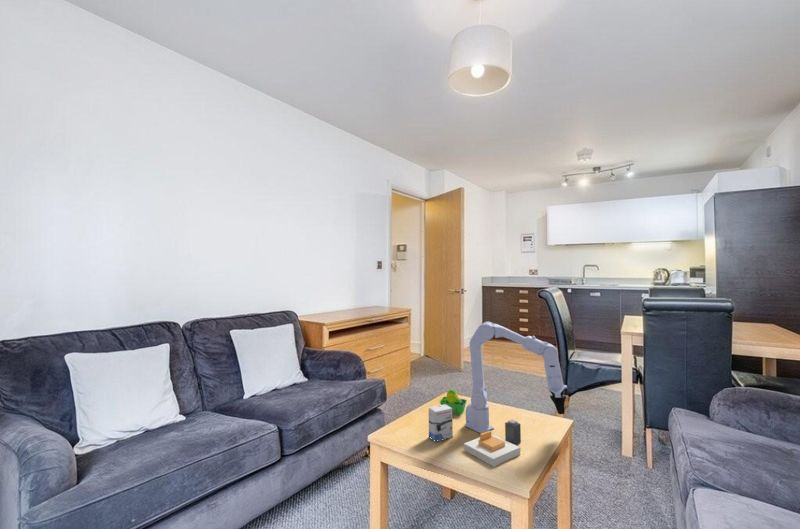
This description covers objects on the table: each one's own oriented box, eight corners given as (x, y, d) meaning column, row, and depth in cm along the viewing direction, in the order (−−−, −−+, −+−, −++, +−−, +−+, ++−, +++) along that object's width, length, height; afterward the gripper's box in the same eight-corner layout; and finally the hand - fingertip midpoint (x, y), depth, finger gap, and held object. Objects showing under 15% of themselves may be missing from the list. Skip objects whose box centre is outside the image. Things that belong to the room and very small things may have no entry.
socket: (464, 450, 136) (463, 443, 136) (490, 440, 144) (490, 433, 144) (493, 466, 125) (493, 459, 125) (520, 454, 133) (520, 447, 133)
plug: (505, 441, 143) (505, 420, 143) (512, 438, 145) (511, 418, 145) (513, 445, 140) (513, 424, 140) (520, 442, 142) (520, 421, 142)
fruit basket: (467, 410, 175) (467, 386, 175) (462, 417, 167) (462, 392, 167) (444, 407, 180) (443, 383, 180) (438, 413, 172) (438, 389, 172)
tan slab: (478, 444, 135) (478, 434, 135) (490, 439, 139) (490, 430, 139) (492, 451, 130) (492, 441, 130) (505, 446, 134) (504, 436, 134)
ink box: (435, 442, 143) (434, 411, 143) (428, 437, 147) (427, 407, 147) (453, 437, 147) (452, 407, 147) (446, 432, 151) (445, 403, 151)
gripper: (566, 379, 138) (573, 416, 137) (563, 369, 152) (569, 403, 151) (546, 381, 141) (553, 417, 140) (545, 371, 154) (551, 404, 153)
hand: (560, 410), depth 146 cm, fingers open, 7 cm apart
